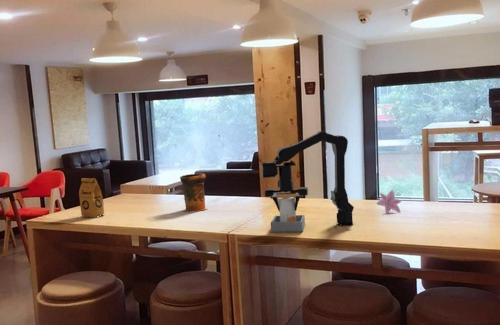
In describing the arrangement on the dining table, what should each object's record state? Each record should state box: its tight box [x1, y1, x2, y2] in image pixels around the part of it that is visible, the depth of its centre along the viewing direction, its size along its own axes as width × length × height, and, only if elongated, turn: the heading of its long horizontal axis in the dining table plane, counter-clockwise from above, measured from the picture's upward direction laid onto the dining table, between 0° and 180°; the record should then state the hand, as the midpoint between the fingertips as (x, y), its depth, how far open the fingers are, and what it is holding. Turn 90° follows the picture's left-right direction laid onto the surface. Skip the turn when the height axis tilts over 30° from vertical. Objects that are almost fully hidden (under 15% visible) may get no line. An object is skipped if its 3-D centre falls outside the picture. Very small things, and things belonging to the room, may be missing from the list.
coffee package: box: [78, 177, 105, 218], centre depth 268 cm, size 10×12×22 cm
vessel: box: [179, 173, 208, 213], centre depth 268 cm, size 14×14×20 cm
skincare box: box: [278, 196, 297, 222], centre depth 210 cm, size 6×4×12 cm
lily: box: [375, 189, 402, 214], centre depth 232 cm, size 12×12×10 cm
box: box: [270, 214, 306, 234], centre depth 211 cm, size 14×14×4 cm
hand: (287, 211), depth 210 cm, fingers closed on skincare box, 7 cm apart
